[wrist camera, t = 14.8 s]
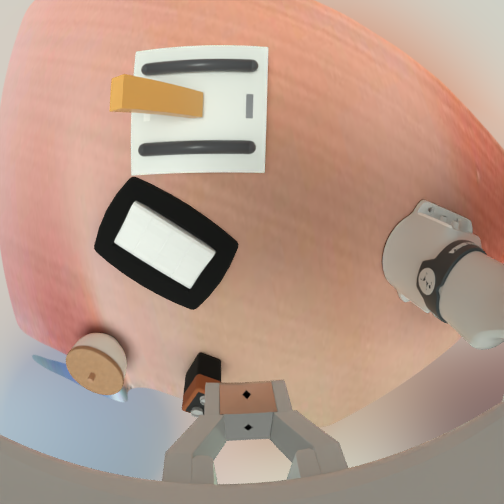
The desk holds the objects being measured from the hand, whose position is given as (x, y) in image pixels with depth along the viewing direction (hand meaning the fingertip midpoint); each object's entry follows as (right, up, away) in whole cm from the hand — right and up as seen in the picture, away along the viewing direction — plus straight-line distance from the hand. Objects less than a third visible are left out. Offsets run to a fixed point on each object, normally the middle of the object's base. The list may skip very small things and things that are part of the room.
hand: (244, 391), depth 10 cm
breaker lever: (-6, +22, +19) cm, 29 cm away
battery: (-9, -15, +38) cm, 42 cm away
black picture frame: (-13, +7, +30) cm, 34 cm away
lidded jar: (-26, -12, +35) cm, 46 cm away
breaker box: (-6, +24, +24) cm, 34 cm away
